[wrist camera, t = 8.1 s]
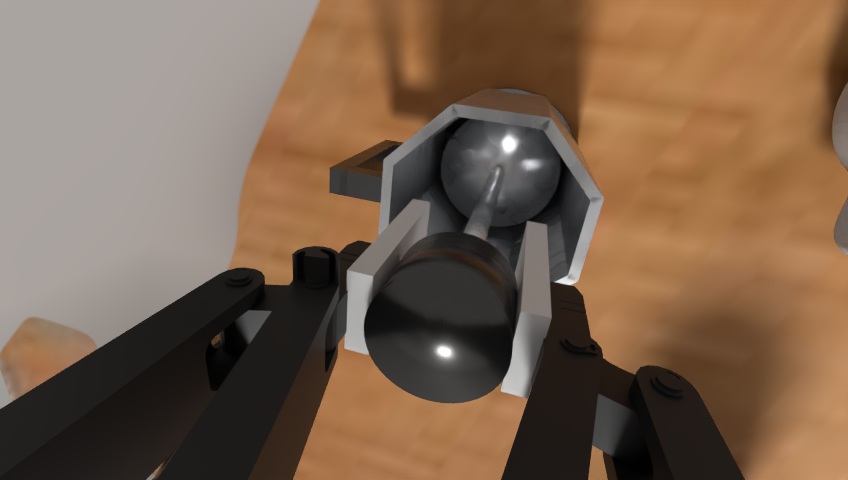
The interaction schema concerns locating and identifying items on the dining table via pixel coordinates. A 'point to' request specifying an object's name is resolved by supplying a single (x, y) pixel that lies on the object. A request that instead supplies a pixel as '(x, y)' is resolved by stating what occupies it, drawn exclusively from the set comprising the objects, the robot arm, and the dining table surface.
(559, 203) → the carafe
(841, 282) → the dining table surface
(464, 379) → the plunger
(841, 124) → the teacup
